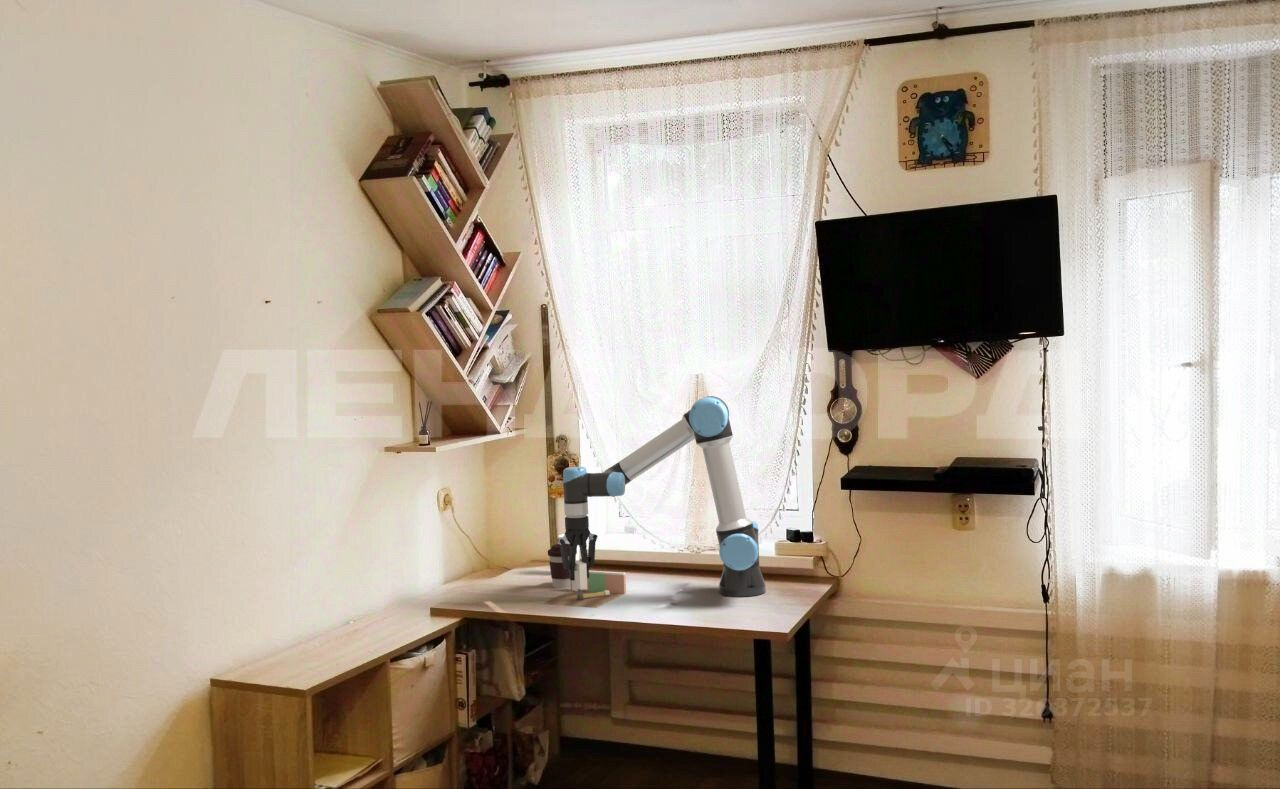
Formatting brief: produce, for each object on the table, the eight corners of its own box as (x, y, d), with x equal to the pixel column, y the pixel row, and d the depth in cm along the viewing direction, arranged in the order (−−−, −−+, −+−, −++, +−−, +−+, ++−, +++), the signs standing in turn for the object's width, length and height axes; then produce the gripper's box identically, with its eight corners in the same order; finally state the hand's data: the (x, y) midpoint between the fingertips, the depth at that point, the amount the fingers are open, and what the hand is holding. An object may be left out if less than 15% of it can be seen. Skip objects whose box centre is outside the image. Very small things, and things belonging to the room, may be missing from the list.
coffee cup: (560, 593, 338) (558, 548, 338) (543, 589, 346) (541, 545, 345) (584, 588, 345) (582, 544, 344) (566, 584, 352) (564, 541, 352)
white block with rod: (580, 602, 319) (579, 564, 319) (572, 598, 325) (571, 561, 325) (613, 597, 324) (611, 560, 324) (604, 593, 330) (602, 556, 330)
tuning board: (626, 596, 330) (626, 592, 330) (596, 611, 311) (595, 607, 311) (573, 592, 339) (573, 589, 339) (540, 607, 320) (540, 603, 320)
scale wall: (626, 592, 330) (625, 572, 330) (624, 593, 329) (623, 573, 328) (572, 589, 339) (571, 569, 338) (570, 590, 337) (569, 570, 337)
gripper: (593, 511, 329) (596, 584, 330) (549, 517, 322) (552, 591, 322) (603, 514, 323) (607, 587, 323) (558, 519, 315) (562, 595, 316)
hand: (579, 589), depth 323 cm, fingers closed on white block with rod, 3 cm apart
